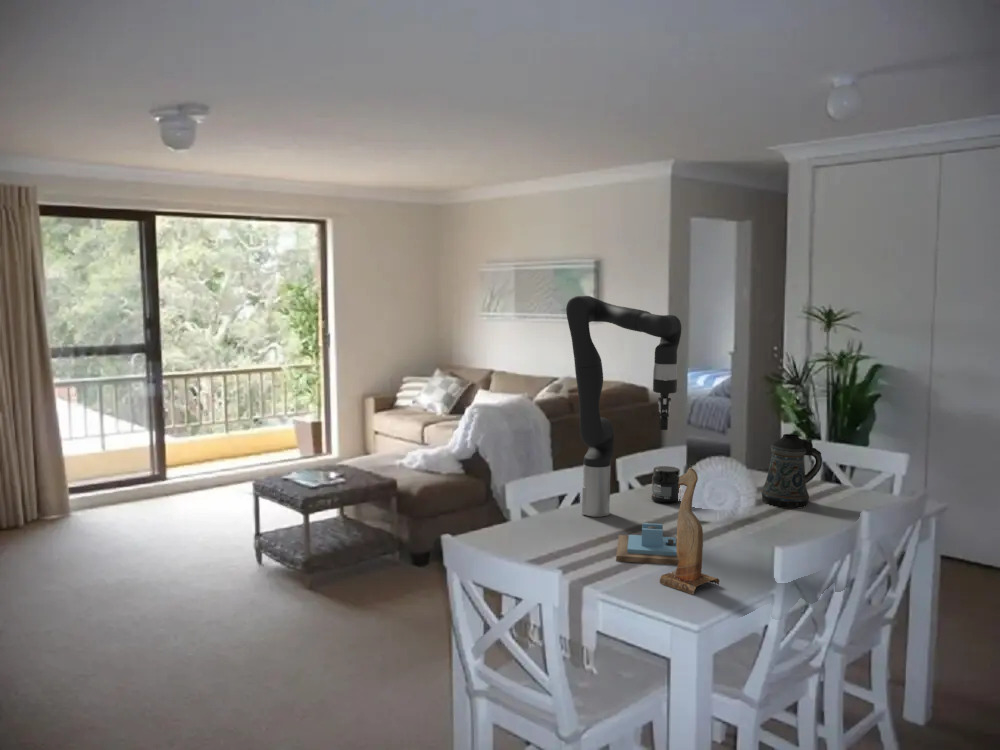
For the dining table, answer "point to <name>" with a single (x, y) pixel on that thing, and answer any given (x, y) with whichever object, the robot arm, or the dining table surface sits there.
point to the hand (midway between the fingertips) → (663, 427)
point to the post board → (643, 558)
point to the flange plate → (651, 542)
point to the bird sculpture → (688, 543)
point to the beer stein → (789, 472)
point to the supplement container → (665, 484)
